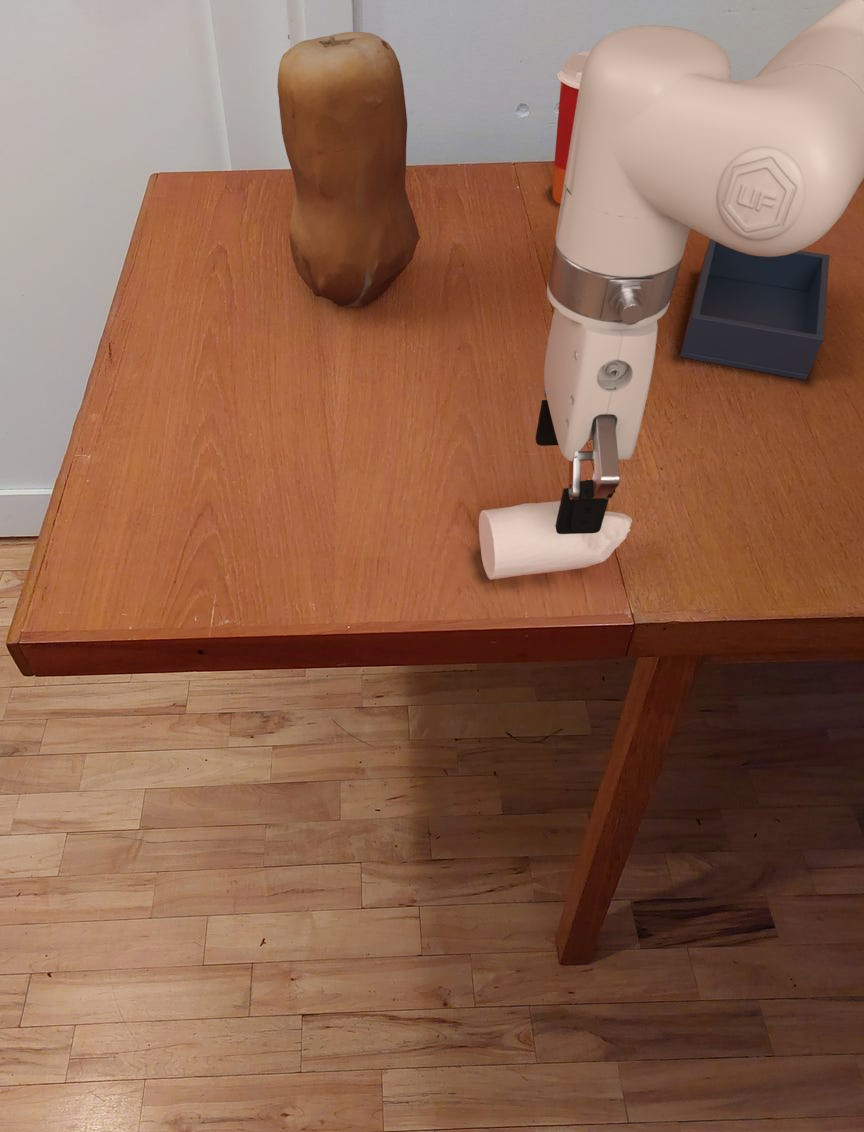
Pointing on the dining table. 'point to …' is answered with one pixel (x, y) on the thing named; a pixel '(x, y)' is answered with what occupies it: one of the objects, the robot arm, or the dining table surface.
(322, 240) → the butternut squash
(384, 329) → the dining table surface
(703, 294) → the tote
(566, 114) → the coffee cup
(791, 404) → the dining table surface
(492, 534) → the roll
